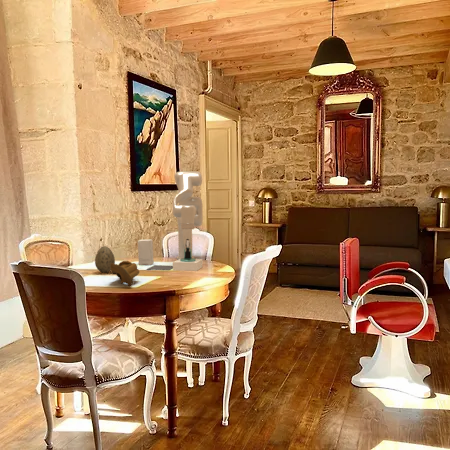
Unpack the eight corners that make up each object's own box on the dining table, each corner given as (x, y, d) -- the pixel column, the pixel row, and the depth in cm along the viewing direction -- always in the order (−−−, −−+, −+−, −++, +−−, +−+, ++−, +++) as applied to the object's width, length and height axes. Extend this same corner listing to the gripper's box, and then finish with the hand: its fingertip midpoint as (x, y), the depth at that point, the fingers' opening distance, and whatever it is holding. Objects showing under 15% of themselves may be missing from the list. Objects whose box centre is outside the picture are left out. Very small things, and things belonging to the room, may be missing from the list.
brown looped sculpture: (91, 271, 205) (114, 257, 226) (102, 296, 207) (123, 280, 227) (124, 261, 199) (144, 247, 220) (134, 286, 201) (153, 271, 222)
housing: (179, 266, 262) (179, 258, 261) (202, 267, 259) (202, 259, 259) (173, 270, 248) (172, 262, 248) (196, 271, 245) (196, 262, 245)
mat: (154, 266, 265) (154, 265, 264) (176, 266, 262) (176, 265, 262) (146, 270, 251) (146, 269, 251) (169, 270, 248) (169, 269, 248)
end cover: (182, 267, 259) (182, 247, 258) (197, 267, 257) (197, 248, 256) (178, 269, 250) (178, 249, 249) (193, 270, 248) (193, 250, 247)
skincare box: (153, 263, 275) (153, 239, 274) (151, 265, 268) (150, 240, 267) (141, 263, 276) (140, 239, 274) (137, 265, 269) (137, 240, 268)
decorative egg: (104, 270, 250) (104, 244, 249) (119, 271, 245) (118, 245, 244) (91, 273, 240) (90, 246, 239) (105, 275, 235) (105, 247, 234)
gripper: (181, 225, 260) (181, 255, 261) (180, 227, 243) (181, 259, 244) (193, 225, 260) (194, 255, 262) (194, 227, 244) (194, 259, 245)
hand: (187, 257), depth 253 cm, fingers closed on end cover, 4 cm apart
